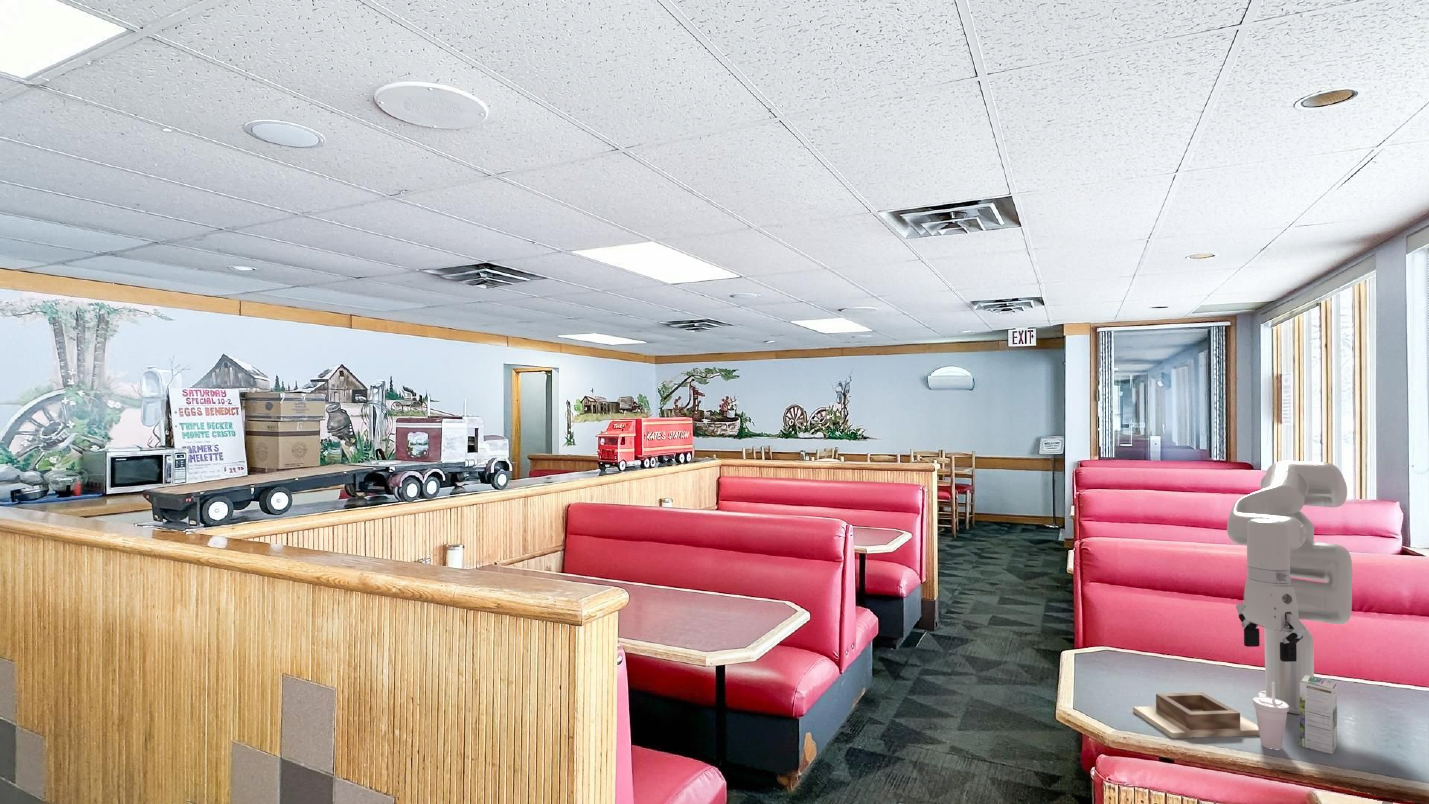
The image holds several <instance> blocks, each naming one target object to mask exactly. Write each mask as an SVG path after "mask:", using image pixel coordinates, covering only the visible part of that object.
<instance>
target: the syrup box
mask: <svg viewBox="0 0 1429 804" xmlns="http://www.w3.org/2000/svg"><path fill="white" fill-rule="evenodd" d="M1299 746H1300V747H1302V748H1306V749H1309V748H1310V750H1314V751H1318V752H1320V753H1326V754H1330V755H1334V754H1335V751H1336V748H1337V746H1338V682H1336V681H1334V680H1331V679H1327V678H1322V677H1319V676H1315V675H1314V676H1307V675H1305V676H1304V678H1303V679H1302V681H1301V682H1300V714H1299Z"/></svg>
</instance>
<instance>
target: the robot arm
mask: <svg viewBox="0 0 1429 804" xmlns="http://www.w3.org/2000/svg"><path fill="white" fill-rule="evenodd" d="M1347 497H1348V487H1347V483H1346V480H1345V478H1344V475H1343V473H1342V471H1341V470H1340V469H1339V468H1338V467H1337V466H1336V465H1334V464H1333V463H1330V462H1325V461H1307V460H1306V461H1305V460H1303V461H1302V460H1300V461H1299V460H1281V461H1277V462H1274V463H1272V464H1271V465H1270V466H1269V467H1268V468H1267V470H1266V473H1265V474H1264V475H1263V476H1262V478H1261V479H1260V490H1257V491H1253V492H1251V493H1250V494H1247V495H1244V496H1243V497H1240V498H1239V499H1238V500H1236V501H1235V502H1234V504H1233V506H1232V507H1231V510H1230V513H1229V516H1228V520H1227V524H1226V532H1227V536H1228V538H1229V540H1231V541H1232V542H1233V543H1235V544H1237V545H1241V546H1246V562H1247V563H1246V566H1247V567H1246V569H1247V570H1246V573H1247V578H1246V579H1245V580H1246V581H1245V584H1244V592H1243V602H1241V603H1239V604H1236V605H1235V608H1236V611H1237V614H1238V618H1239V620H1240V622H1241V623H1240V624H1241V627H1242V628H1243V645H1244V647H1246V648H1248V647H1249V648H1250V647H1251V648H1253V647H1255V648H1258V647H1260V642H1261V641H1260V628H1258V627H1259V626H1260V627H1262V628H1264V670H1265V672H1264V676H1265V678H1264V679H1265V682H1264V683H1265V690H1262V691H1259V692H1258V694H1257V697H1270V698H1272V682H1274V683H1275V699H1278V700H1281V701H1283V702H1285V703H1287V704H1288V705H1289V711H1288V712H1287V713H1290V714H1295V715H1300V682H1301V681H1302V679H1303V678H1304V676H1305V675H1307V676H1314V677H1315V667H1314V665H1315V664H1314V659H1315V658H1314V657H1315V654H1314V653H1315V652H1314V638H1313V637H1314V636H1312V633H1311V632H1310V630H1309V629H1308V627H1306V625H1305V624H1304V623H1303V622H1302V621H1301V620H1304V621H1312V622H1319V623H1325V624H1330V625H1331V624H1333V625H1344V624H1345V625H1346V624H1347V623H1348V622H1349V621H1350V619H1351V615H1352V611H1353V610H1352V608H1353V606H1352V605H1353V596H1352V595H1353V560H1352V556H1351V553H1350V552H1349V551H1348V549H1347V548H1346V547H1344V546H1343V545H1341V544H1337V543H1332V542H1331V543H1329V542H1321V541H1315V540H1314V538H1315V526H1314V524H1313V523H1312V521H1311V520H1310V519H1309V517H1308V516H1306V515H1305V514H1304V513H1303V512H1302V511H1301V510H1302V509H1303V507H1304V506H1307V507H1322V508H1338V507H1341V506H1343V505H1344V504H1345V502H1346V500H1347ZM1306 579H1307V580H1306Z"/></svg>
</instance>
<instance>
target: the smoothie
mask: <svg viewBox="0 0 1429 804" xmlns="http://www.w3.org/2000/svg"><path fill="white" fill-rule="evenodd" d="M1252 705H1254V710H1255V715H1256V722H1257V725H1258V729H1259V735H1258V736H1259V741H1260V745H1261V746H1262V747H1264V748H1266V747H1267V748H1266V749H1269V748H1272V749H1281V750H1283V743H1284V738H1285V737H1284V736H1285V731H1286V730H1285V729H1286V724H1287V716H1288V713H1289V712H1288V711H1289V705H1288V704H1287V703H1285V702H1283V701H1281V700H1278V699H1275V683H1274V682H1272V698H1270V697H1258V696H1255V697H1253V698H1252ZM1272 749H1271V750H1272Z"/></svg>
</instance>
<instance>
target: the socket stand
mask: <svg viewBox="0 0 1429 804" xmlns="http://www.w3.org/2000/svg"><path fill="white" fill-rule="evenodd" d="M1132 713H1134V714H1136V715H1137V716H1138V717H1140V718H1142V719H1143V720H1145V721H1146V722H1147V723H1149V724H1151V725H1152V726H1154V727H1155V728H1156V729H1157V730H1160V732H1162V731H1163V732H1162V733H1164V734H1165V735H1167V736H1168V737H1170V738H1171V739H1187V738H1188V739H1189V738H1192V737H1194V738H1217V737H1218V738H1219V737H1220V738H1221V737H1224V738H1225V737H1246V736H1251V737H1252V736H1253V737H1254V736H1259V729H1258V724H1256V723H1255V722H1252V721H1251V720H1249V719H1247V718H1246V717H1243V716H1242V715H1241V713H1240V712H1239V711H1237V710H1236V709H1233V708H1232V707H1230V706H1229V705H1226V704H1225V703H1223V702H1221V701H1219V700H1217V699H1216V698H1213V697H1212V696H1210V695H1208V694H1206V693H1205V692H1199V691H1198V692H1171V693H1167V692H1166V693H1155V705H1151V706H1145V705H1144V706H1132Z"/></svg>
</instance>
